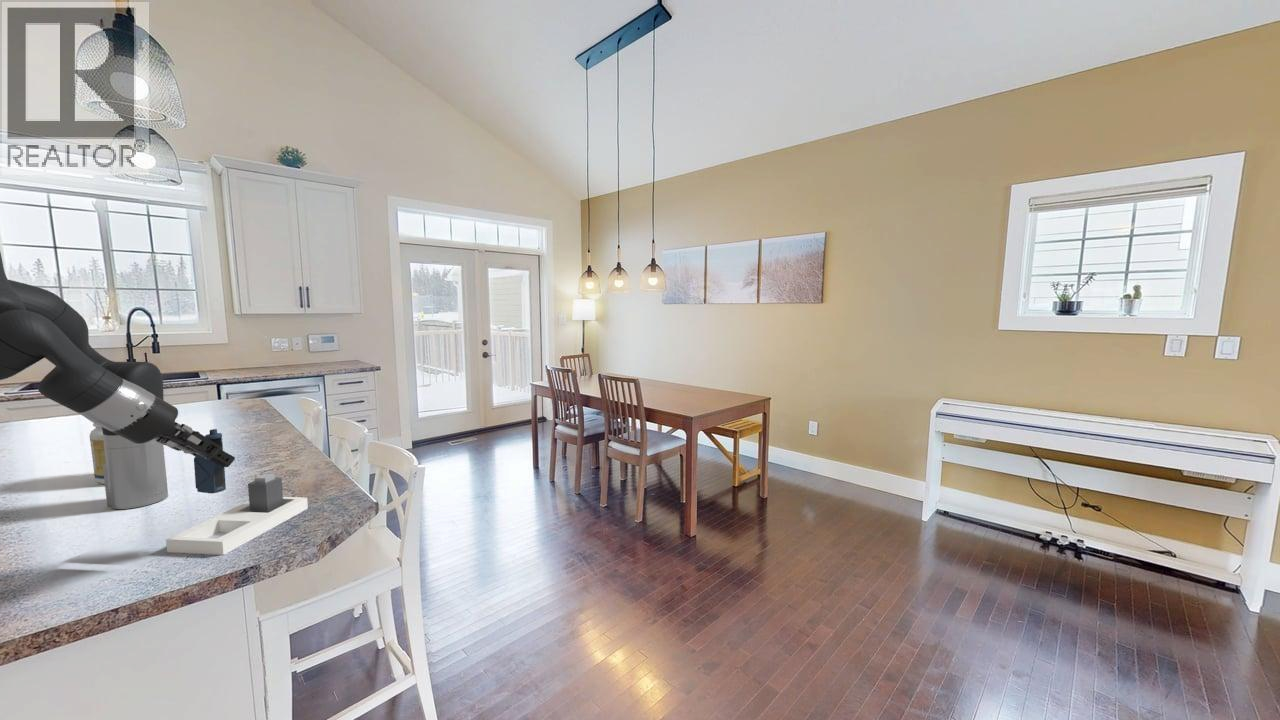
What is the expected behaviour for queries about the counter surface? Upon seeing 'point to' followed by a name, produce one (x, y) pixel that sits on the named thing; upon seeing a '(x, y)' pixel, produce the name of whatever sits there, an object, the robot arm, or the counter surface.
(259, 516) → the dock
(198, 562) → the counter surface
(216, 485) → the vaping device
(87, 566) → the counter surface
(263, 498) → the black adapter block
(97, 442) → the supplement tub
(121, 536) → the counter surface
